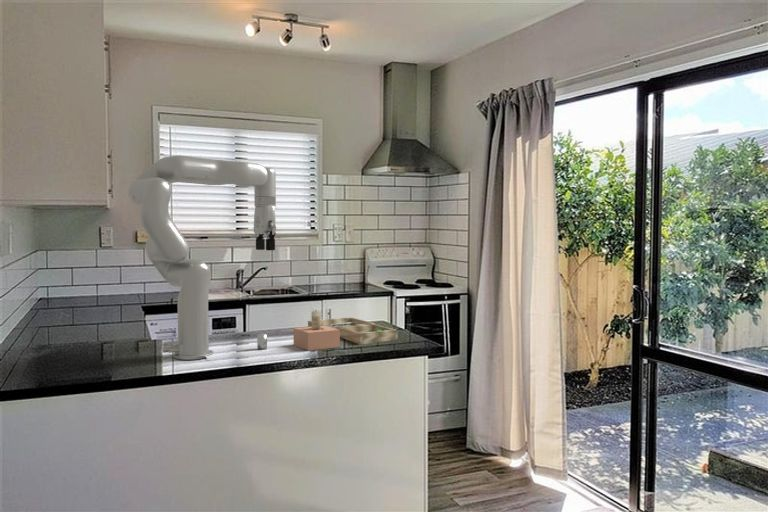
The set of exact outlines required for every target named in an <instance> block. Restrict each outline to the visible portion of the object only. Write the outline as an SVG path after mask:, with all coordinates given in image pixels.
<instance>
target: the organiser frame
mask: <svg viewBox="0 0 768 512" xmlns="http://www.w3.org/2000/svg"><path fill="white" fill-rule="evenodd" d="M346 323H352V325H351V324H350V325H340V324H346ZM337 324H339V326H331V325H337ZM323 325H324V326H328V327H331V328H335V329H339V330H340V338H342V339H345V340H347V341H350V342H352V343H355V344H357V345H359V346H361V345H369V344H374V343H381V342H388V341H394V340H398V329H396V328H391V327H387V326H382V325H379V324H377V323H376V322H372V321H367V320H363V319H360V318H355V317H340V318H329V319H321V326H323ZM307 327H312V320H308V321H307ZM376 330H382V331H376ZM374 331H376V332H374Z"/></svg>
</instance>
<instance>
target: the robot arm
mask: <svg viewBox="0 0 768 512" xmlns="http://www.w3.org/2000/svg"><path fill="white" fill-rule="evenodd" d="M276 176H277V175H276V170H275V169H274V168H273V167H272V168H271V167H267V166H266V167H265V166H264V165H263V164H259V163H254V162H246V161H237V160H236V161H234V160H223V159H212V158H211V159H210V158H203V157H196V156H195V157H194V156H190V155H189V156H188V155H179V154H178V155H172V156H165V157H162V158H159V159H158V160H157V161H154V163H153V164H151V166H149V167H148V168H146V170H145V171H143V172H142V173H141V174H140V175H138V177H136V178H135V179H134V180H133V181H132V182H131V183H130V185H129V186H128V189H127V192H128V197H129V199H130V201H131V202H132V203H133V204H135V205H136V206H140V212H139V214H140V216H139V217H140V222H141V223H140V224H141V226H142V228H143V230H144V232H145V233H146V234H147V236H148V238H147V240H146V242H145V253H146V256H147V258H148V259H149V261H150V262H151V264H152V265H153V266H154V267H155V269H156V270H157V271H158V273H159V274H160V275H161V276H162V278H163V280H165V281H166V282H167V283H168V285H170V286H172V287H175V288H180V290H179V293H178V298H177V341H175V344H172V345H170V346H169V345H168V346H167V345H166V346H162V353H163V354H164V353H166V354H167V353H169V354H171V353H173V354H172V358H174V359H176V360H185V361H186V360H189V361H190V360H202V359H207V358H208V357H209V356H212V355H213V354H214V352H215V351H214V350H211V349H209V347H210V346H209V345H210V343H209V342H210V341H209V291H210V287H211V286H210V285H211V281H212V272H211V269H210V266H209V265H208V264H207V263H206V262H204V261H202V260H201V259H200V260H199V259H195V258H187V257H188V256H189V254H190V251H191V250H190V245H189V243H188V241H187V240H186V238H185V237H184V235H183V234H182V233H181V231H180V230H179V228H178V227H177V225H176V224H175V222H174V221H173V220H172V218H171V215H170V213H169V204H170V200H171V196H172V187H171V184H175V183H185V184H194V185H203V186H205V185H206V186H225V185H235V186H237V187H239V188H252V187H253V188H254V191H253V192H254V194H253V195H254V198H253V199H254V214H253V233H254V234H255V250H258V251H264V250H266V251H276V234H277V233H276V231H277V230H276V229H277V226H276V210H275V207H277V204H276V203H277V200H276V199H277V197H276V196H277V195H276V194H277V193H276V181H277V180H276V179H277V178H276ZM265 237H266V239H265Z"/></svg>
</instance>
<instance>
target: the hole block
mask: <svg viewBox="0 0 768 512" xmlns="http://www.w3.org/2000/svg"><path fill="white" fill-rule="evenodd" d="M328 326H329V325H327V326H324V325H323V326H321V330H312V327H308V326H303V327H302V326H301V327H293V346H295V347H296V348H297V347H298V348H301V349H303V350H306V351H309V352H310V351H316V350H326V349H335V348H341V337H340V330H339V329H335V328H331V327H332V326H331V327H328Z"/></svg>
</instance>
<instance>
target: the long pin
mask: <svg viewBox="0 0 768 512" xmlns="http://www.w3.org/2000/svg"><path fill="white" fill-rule="evenodd" d="M321 320H322V312H321V311H319V310H317V311H316V310H315V311H314V310H313V311H311V321H312V330H321Z"/></svg>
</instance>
